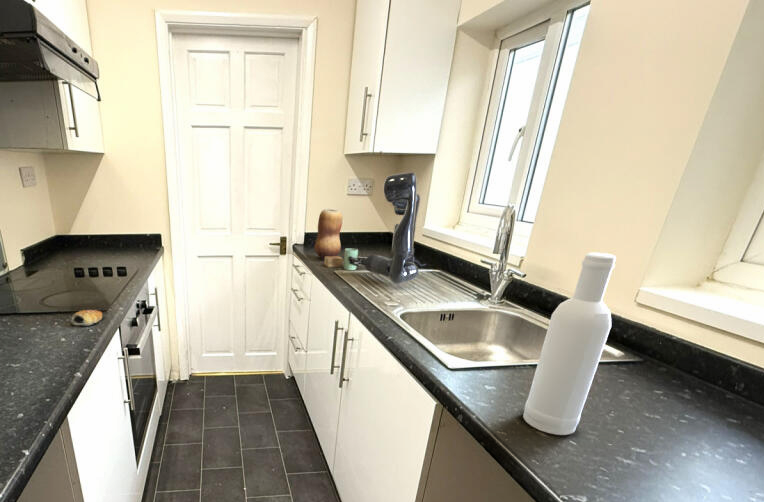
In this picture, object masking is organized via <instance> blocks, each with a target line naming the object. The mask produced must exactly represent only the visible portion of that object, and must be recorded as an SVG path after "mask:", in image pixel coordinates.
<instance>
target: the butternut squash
mask: <svg viewBox="0 0 764 502" xmlns="http://www.w3.org/2000/svg"><path fill="white" fill-rule="evenodd" d="M342 226H343V214H342V212H341V211H340V210H338V209H331V208H326V209H322V210H321V212H320V213H319V216H318V222H317V237H316V239H315V243H314V251H315V254H316V255H317V256H318V257H319V258H320V259H321V260H322V261H325V257H326V256H339V254H340V252H341V248H342V245H341V239H340V233H341V230H342Z"/></svg>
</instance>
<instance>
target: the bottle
mask: <svg viewBox="0 0 764 502" xmlns="http://www.w3.org/2000/svg"><path fill="white" fill-rule="evenodd" d="M616 259H617V257H616V256H615V254H611V253H603V252H588V253H586V254H585V256H584V259H583V260H582V262H581V270H580V273H579V276H578V280H577V283H576V285H575V289H574V293H573V296H572V297H569V298H568V299H566V300H564V301H563V302H561V303H560V304H558V306H557V307H556V308H555V310H553V312H552V313H551V316H550V320H549V323H548V327H547V330H546V334H545V337H544V341H543V345H542V348H541V352H540V355H539V358H538V362H537V365H536V368H535V372H534V376H533V380H532V383H531V387H530V389H529V394H528V397H527V399H526V402H525V405H524V411H523V414H522V415H523V416H522V417H523V419H524V421H525V422H526V423H527V424H528V425H530V426H531V427H533V428H534V429H536V430H539V431H541V432H543V433H547V434H549V435H550V434H551V435H556V436H568V435H572V434H574V432H576V429H577V426H578V425H579V423H580V420H581V415H582V412H583V409H584V406H585V403H586V400H587V398H588V394H589V391H590V389H591V386H592V384H593V380H594V377H595V374H596V372H597V369H598V366H599V362H600V360H601V357H602V354H603V351H604V348H605V345H606V343H607V340H608V337H609V334H610V331H611V328H612V316H611V315H612V314H611V310H610V309H609V308H608V306H607V305H606V304H605V303H604V301H603V298H604V295H605V293H606V290H607V287H608V283H609V281H610V277H611V274H612V271H613V269H614V268H615V266H616V264H615V262H616Z"/></svg>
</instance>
